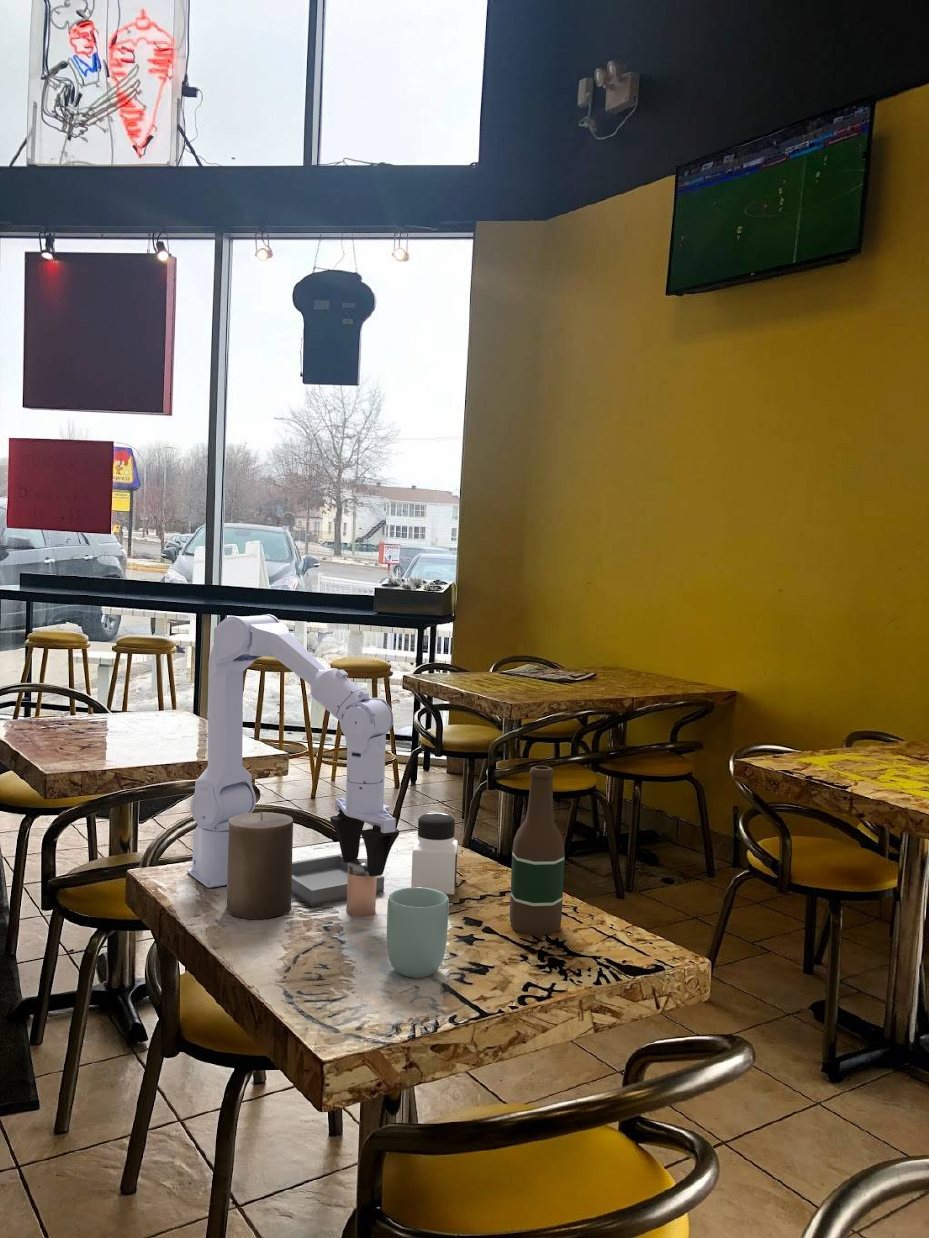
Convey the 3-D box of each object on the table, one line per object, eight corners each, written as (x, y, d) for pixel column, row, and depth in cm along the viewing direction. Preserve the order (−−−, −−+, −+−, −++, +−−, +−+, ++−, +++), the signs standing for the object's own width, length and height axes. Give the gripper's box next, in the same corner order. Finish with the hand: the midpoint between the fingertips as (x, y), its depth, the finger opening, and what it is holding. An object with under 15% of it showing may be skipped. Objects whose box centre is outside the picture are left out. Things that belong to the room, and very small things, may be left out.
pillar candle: (290, 919, 147) (294, 819, 146) (222, 920, 145) (225, 819, 145) (291, 897, 156) (294, 803, 156) (228, 898, 155) (230, 803, 154)
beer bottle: (558, 939, 143) (566, 774, 142) (505, 933, 145) (512, 770, 143) (563, 920, 151) (571, 764, 149) (513, 914, 152) (519, 760, 151)
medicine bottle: (455, 895, 160) (458, 822, 159) (410, 893, 160) (413, 820, 159) (456, 880, 167) (459, 810, 166) (413, 879, 167) (416, 808, 167)
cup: (413, 954, 136) (416, 882, 135) (457, 971, 131) (460, 897, 130) (373, 971, 130) (376, 896, 129) (418, 989, 125) (421, 912, 124)
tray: (271, 880, 164) (271, 865, 164) (340, 868, 171) (341, 853, 171) (311, 906, 152) (312, 890, 152) (383, 892, 160) (384, 876, 160)
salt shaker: (341, 909, 152) (342, 861, 151) (365, 904, 154) (367, 856, 154) (355, 918, 148) (357, 869, 148) (380, 913, 151) (382, 864, 150)
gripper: (414, 786, 147) (411, 877, 147) (363, 767, 158) (361, 851, 159) (373, 792, 142) (370, 885, 143) (324, 772, 154) (321, 858, 155)
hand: (362, 868), depth 151 cm, fingers open, 7 cm apart
